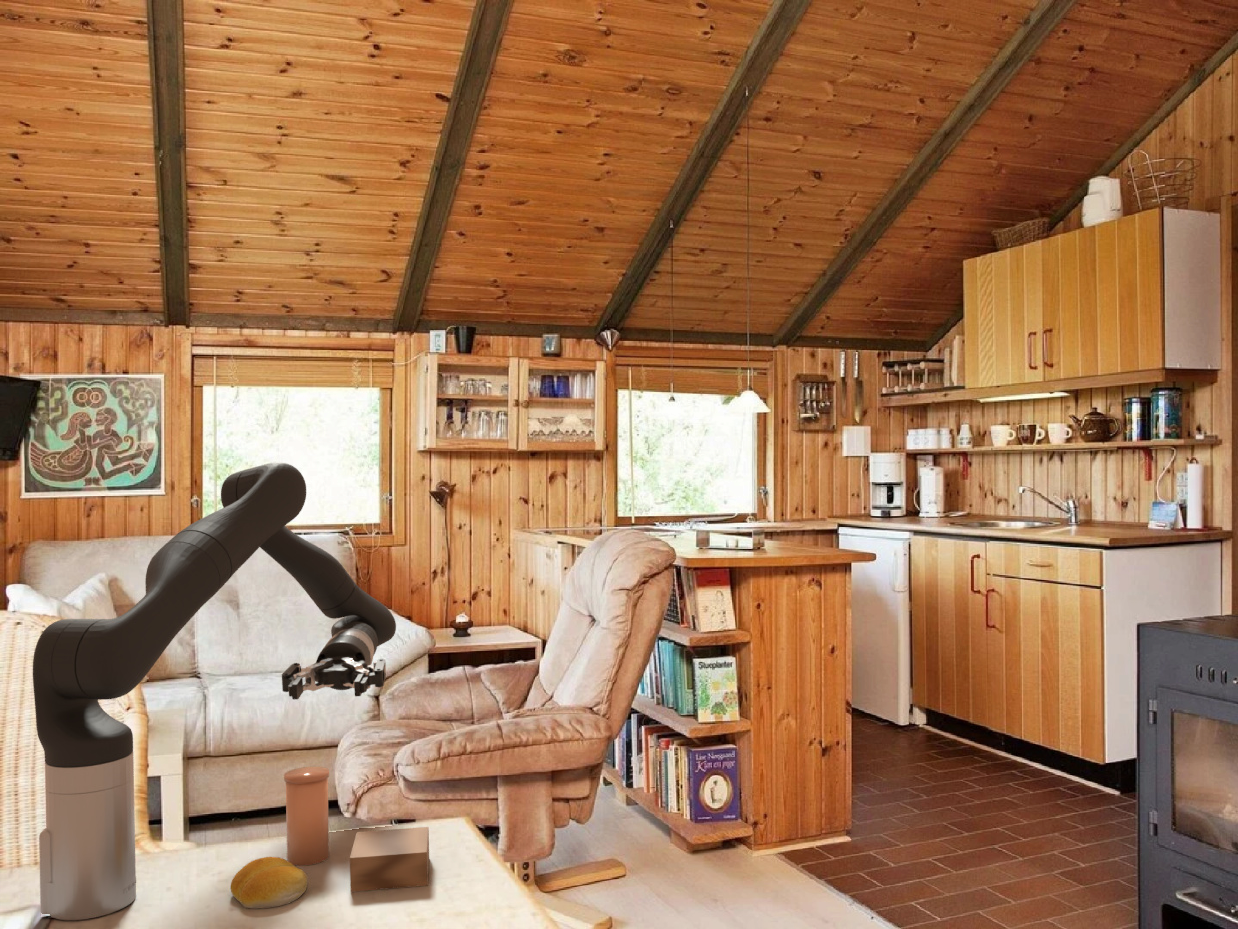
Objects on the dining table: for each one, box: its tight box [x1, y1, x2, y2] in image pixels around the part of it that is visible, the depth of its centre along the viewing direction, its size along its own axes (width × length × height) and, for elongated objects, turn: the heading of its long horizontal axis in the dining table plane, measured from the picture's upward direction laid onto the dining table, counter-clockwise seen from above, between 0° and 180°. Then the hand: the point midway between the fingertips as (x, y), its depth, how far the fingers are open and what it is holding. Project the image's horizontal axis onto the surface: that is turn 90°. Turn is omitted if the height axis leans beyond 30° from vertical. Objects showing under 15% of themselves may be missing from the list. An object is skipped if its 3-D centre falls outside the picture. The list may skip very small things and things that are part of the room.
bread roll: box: [230, 856, 308, 909], centre depth 124 cm, size 8×9×4 cm
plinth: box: [349, 826, 430, 893], centre depth 129 cm, size 9×9×4 cm
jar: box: [283, 766, 330, 866], centre depth 135 cm, size 6×6×11 cm
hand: (325, 691), depth 145 cm, fingers open, 8 cm apart
